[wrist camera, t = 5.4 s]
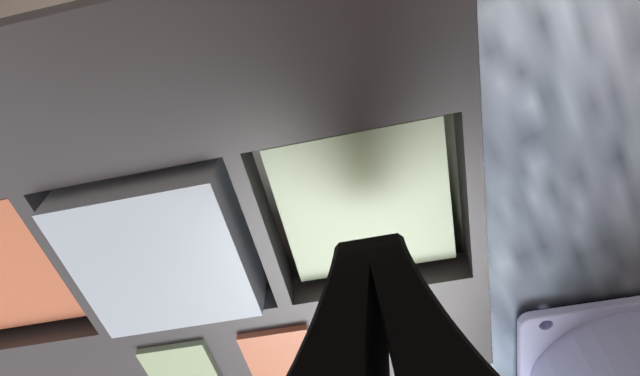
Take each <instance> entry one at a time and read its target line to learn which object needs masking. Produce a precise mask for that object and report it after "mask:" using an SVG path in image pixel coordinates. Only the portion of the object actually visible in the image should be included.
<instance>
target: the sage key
mask: <svg viewBox="0 0 640 376" xmlns="http://www.w3.org/2000/svg"><path fill="white" fill-rule="evenodd" d="M259 152H260V155H261V158H262V161H263V164H264V167H265V170H266V173H267V177H268V180H269V183H270V186H271V189H272V192H273V195H274V198H275V201H276V205H277V208H278V211H279V214H280V217H281V220H282V223H283V226H284V229H285V233H286V236H287V239H288V242H289V245H290V248H291V251H292V254H293V257H294V261H295V264H296V267H297V270H298V273H299V276H300V279H301V282H304V281H310V280H316V279H323V278H327V276H328V273H329V270H330V266H331V262H332V258H333V254H334V248H335V247H336V245H337V244H338V243H339V242H345V241H351V240H357V239H363V238H369V237H375V236H382V235H388V234H394V233H398V234H400V235H402V236H403V237H404V240H405V243H406V246H407V248H408V250H409V252H410V254H411V256H412V258H413V260H414V262H415V264H418V263H424V262H430V261H437V260H443V259H449V258H456V249H455V238H454V227H453V216H452V205H451V194H450V183H449V172H448V161H447V149H446V138H445V127H444V116H443V115H441V116H436V117H431V118H425V119H420V120H415V121H410V122H404V123H399V124H394V125H389V126H383V127H378V128H373V129H367V130H362V131H357V132H352V133H346V134H341V135H336V136H331V137H325V138H320V139H315V140H310V141H304V142H299V143H294V144H289V145H283V146H278V147H273V148H268V149H262V150H259Z"/></svg>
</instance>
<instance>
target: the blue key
mask: <svg viewBox="0 0 640 376" xmlns="http://www.w3.org/2000/svg"><path fill="white" fill-rule="evenodd" d="M32 217H33V219H34V221H35V222H36V224H37V225H38V227H39V228H40V230H41V231H42V233H43V234H44V236H45V237H46V239H47V240H48V242H49V243H50V245H51V246H52V248H53V250H54V251H55V253H56V254H57V256H58V257H59V259H60V260H61V262H62V263H63V265H64V266H65V268H66V269H67V271H68V272H69V274H70V275H71V277H72V278H73V280H74V282H75V283H76V285H77V286H78V288H79V289H80V291H81V292H82V294H83V295H84V297H85V298H86V300H87V301H88V303H89V304H90V306H91V307H92V309H93V311H94V312H95V314H96V315H97V317H98V318H99V320H100V321H101V323H102V324H103V326H104V327H105V329H106V330H107V332H108V333H109V335H110V336H111V338H119V337H125V336H132V335H138V334H145V333H152V332H158V331H165V330H171V329H178V328H185V327H191V326H198V325H204V324H211V323H218V322H224V321H231V320H237V319H244V318H251V317H257V316H263V309H264V300H265V292H266V284H267V276H266V273H265V271H264V268H263V265H262V263H261V260H260V257H259V255H258V252H257V249H256V246H255V244H254V241H253V238H252V236H251V233H250V230H249V227H248V225H247V222H246V219H245V217H244V214H243V211H242V209H241V206H240V203H239V200H238V198H237V195H236V192H235V190H234V187H233V184H232V182H231V179H230V176H229V173H228V171H227V168H226V165H225V163H224V160H223V157H220V158H215V159H210V160H205V161H199V162H194V163H189V164H184V165H178V166H173V167H168V168H163V169H157V170H152V171H147V172H142V173H136V174H131V175H126V176H121V177H115V178H110V179H105V180H99V181H94V182H89V183H84V184H78V185H73V186H68V187H63V188H57V189H52V190H51V192H50V193H49V194H48V195H47V197H46V198H45V199H44V201H43V202H42V203H41V205H40V206H39V207H38V208H37V210H36V211H35V212H34V214H33V215H32Z"/></svg>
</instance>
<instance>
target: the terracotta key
mask: <svg viewBox="0 0 640 376" xmlns="http://www.w3.org/2000/svg"><path fill="white" fill-rule="evenodd" d="M82 316H86V314H85V313H84V311H83V310H82V308H81V307H80V305H79V304H78V303H77V301H76V300H75V298H74V297H73V295H72V294H71V292H70V291H69V289H68V288H67V286H66V285H65V283H64V282H63V280H62V279H61V277H60V276H59V274H58V273H57V271H56V270H55V268H54V267H53V265H52V264H51V262H50V261H49V259H48V258H47V256H46V255H45V253H44V252H43V250H42V249H41V247H40V246H39V244H38V243H37V241H36V240H35V239H34V237H33V236H32V234H31V233H30V231H29V230H28V228H27V227H26V225H25V224H24V222H23V221H22V219H21V218H20V216H19V215H18V213H17V212H16V210H15V209H14V207H13V206H12V204H11V203H10V201H9V200H8V198H5V199H0V329H6V328H13V327H19V326H25V325H32V324H38V323H44V322H51V321H57V320H63V319H70V318H76V317H82Z"/></svg>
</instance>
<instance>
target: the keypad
mask: <svg viewBox="0 0 640 376" xmlns="http://www.w3.org/2000/svg"><path fill="white" fill-rule="evenodd" d="M441 115H443V116H444V127H445V138H446V149H447V161H448V172H449V183H450V194H451V205H452V216H453V227H454V238H455V249H456V258H449V259H443V260H437V261H430V262H424V263H418V264H416V266H417V267H418V269H419V271H420V273H421V274H422V276H423V278H424V279H425V281H426V282H427V284H428V286H429V287H430V289H431V290H432V291H433V293H434V294H435V296H436V297H437V299H438V300H439V302H440V303H441V305H442V306H443V307H444V309H445V310H446V312H447V313H448V314H449V316H450V317H451V318H452V320H453V321H454V322H455V324H456V325H457V326H458V327H459V329H460V330H461V331H462V332H463V334H464V335H465V336H466V337H467V339H468V340H469V341H470V342H471V343H472V345H473V346H474V347H475V348H476V349H477V351H478V352H479V353H480V354H481V355H482V356H483V357H484V359H485V360H486V361H487V362H488V363H489V364H491V363H493V355H492V332H491V310H490V288H489V266H488V243H487V221H486V199H485V177H484V154H483V132H482V110H481V88H480V65H479V43H478V21H477V0H0V199H5V198H8V200H9V201H10V203H11V204H12V206H13V207H14V209H15V210H16V212H17V213H18V215H19V216H20V218H21V219H22V221H23V222H24V224H25V225H26V227H27V228H28V230H29V231H30V233H31V234H32V236H33V237H34V239H35V240H36V241H37V243H38V244H39V246H40V247H41V249H42V250H43V252H44V253H45V255H46V256H47V258H48V259H49V261H50V262H51V264H52V265H53V267H54V268H55V270H56V271H57V273H58V274H59V276H60V277H61V279H62V280H63V282H64V283H65V285H66V286H67V288H68V289H69V291H70V292H71V294H72V295H73V297H74V298H75V300H76V301H77V303H78V304H79V305H80V307H81V308H82V310H83V311H84V313H85V314H86V316H82V317H76V318H70V319H63V320H57V321H51V322H44V323H38V324H32V325H25V326H19V327H13V328H6V329H0V376H286V375H287V373H288V371H289V369H290V367H291V365H292V363H293V361H294V359H295V357H296V354H297V352H298V350H299V348H300V346H301V343H302V341H303V339H304V337H305V335H306V332H307V330H308V328H309V326H310V323H311V321H312V318H313V316H314V313H315V310H316V308H317V305H318V302H319V300H320V297H321V295H322V292H323V289H324V286H325V283H326V280H327V278H323V279H316V280H310V281H304V282H301V279H300V276H299V273H298V270H297V267H296V264H295V261H294V257H293V254H292V251H291V248H290V245H289V242H288V239H287V236H286V233H285V229H284V226H283V223H282V220H281V217H280V214H279V211H278V208H277V205H276V201H275V198H274V195H273V192H272V189H271V186H270V183H269V180H268V177H267V173H266V170H265V167H264V164H263V161H262V158H261V155H260V152H259V150H262V149H268V148H273V147H278V146H283V145H289V144H294V143H299V142H304V141H310V140H315V139H320V138H325V137H331V136H336V135H341V134H346V133H352V132H357V131H362V130H367V129H373V128H378V127H383V126H389V125H394V124H399V123H404V122H410V121H415V120H420V119H425V118H431V117H436V116H441ZM220 157H223V160H224V163H225V165H226V168H227V171H228V173H229V176H230V179H231V182H232V184H233V187H234V190H235V192H236V195H237V198H238V200H239V203H240V206H241V209H242V211H243V214H244V217H245V219H246V222H247V225H248V227H249V230H250V233H251V236H252V238H253V241H254V244H255V246H256V249H257V252H258V255H259V257H260V260H261V263H262V265H263V268H264V271H265V273H266V276H267V284H266V292H265V300H264V309H263V316H257V317H251V318H244V319H237V320H231V321H224V322H218V323H211V324H204V325H198V326H191V327H185V328H178V329H171V330H165V331H158V332H152V333H145V334H138V335H132V336H125V337H119V338H111V336H110V335H109V333H108V332H107V330H106V329H105V327H104V326H103V324H102V323H101V321H100V320H99V318H98V317H97V315H96V314H95V312H94V311H93V309H92V307H91V306H90V304H89V303H88V301H87V300H86V298H85V297H84V295H83V294H82V292H81V291H80V289H79V288H78V286H77V285H76V283H75V282H74V280H73V278H72V277H71V275H70V274H69V272H68V271H67V269H66V268H65V266H64V265H63V263H62V262H61V260H60V259H59V257H58V256H57V254H56V253H55V251H54V250H53V248H52V246H51V245H50V243H49V242H48V240H47V239H46V237H45V236H44V234H43V233H42V231H41V230H40V228H39V227H38V225H37V224H36V222H35V221H34V219H33V217H32V215H33V214H34V212H35V211H36V210H37V208H38V207H39V206H40V205H41V203H42V202H43V201H44V199H45V198H46V197H47V195H48V194H49V193H50V192H51V190H52V189H57V188H63V187H68V186H73V185H78V184H84V183H89V182H94V181H99V180H105V179H110V178H115V177H121V176H126V175H131V174H136V173H142V172H147V171H152V170H157V169H163V168H168V167H173V166H178V165H184V164H189V163H194V162H199V161H205V160H210V159H215V158H220ZM389 365H390V376H395V375H394V371H393V367H392V363H391V359H390V354H389Z"/></svg>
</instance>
